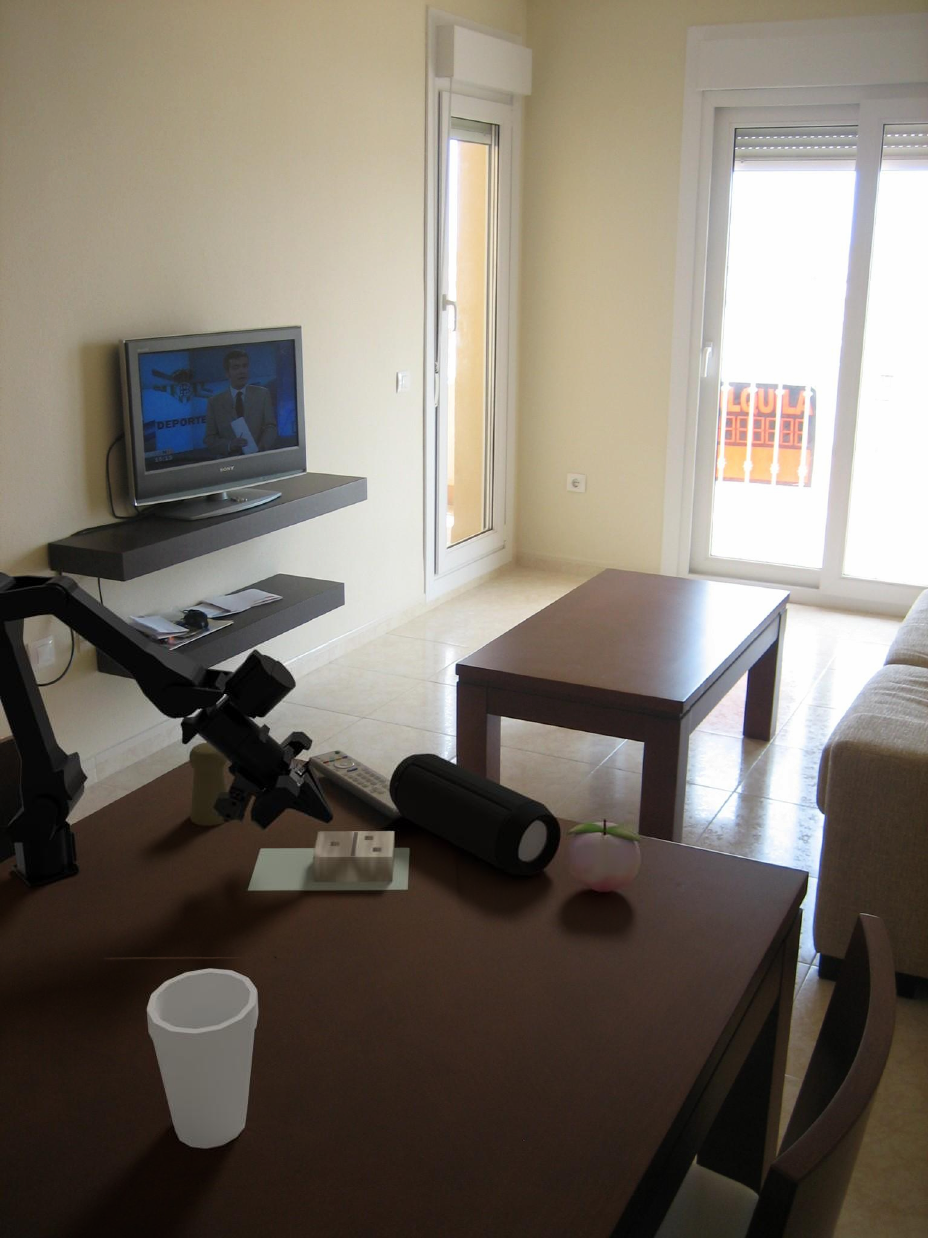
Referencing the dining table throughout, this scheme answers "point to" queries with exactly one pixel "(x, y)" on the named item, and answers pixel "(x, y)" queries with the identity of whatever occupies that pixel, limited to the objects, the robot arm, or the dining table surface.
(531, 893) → the dining table surface
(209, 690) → the robot arm
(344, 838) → the domino
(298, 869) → the plate
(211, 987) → the foam cup
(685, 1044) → the dining table surface
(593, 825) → the decorative fruit
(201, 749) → the cork
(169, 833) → the dining table surface
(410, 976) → the dining table surface
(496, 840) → the portable speaker
